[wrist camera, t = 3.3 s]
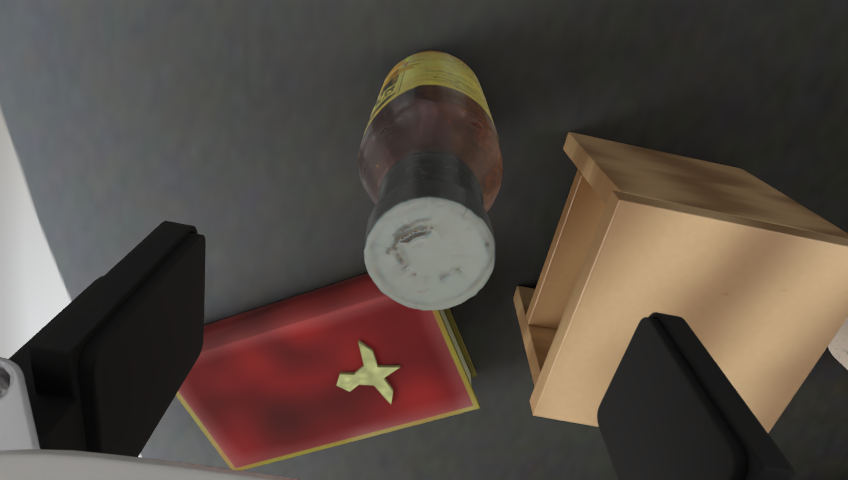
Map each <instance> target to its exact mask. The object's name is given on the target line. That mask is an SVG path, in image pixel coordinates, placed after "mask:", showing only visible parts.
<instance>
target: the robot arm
mask: <svg viewBox="0 0 848 480" xmlns="http://www.w3.org/2000/svg"><path fill="white" fill-rule="evenodd" d="M204 292H205V237H204V235H200V234H197V230H196V228H195V226H190V225H185V224H180V223H174V222H169V221H164V222H162V223H161V224H160V225H159V226H158V227H157V228H156V229H155V230H154V231H152V232H151V233H150V234H149V235H148V236H147V237H146V238H145V239H144V240H143V241H142V242H140V243H139V244H138V245H137V246H136V247H135V248H134V249H133V250H132V251H131V252H130V253H129V254H127V255H126V256H125V257H124V258H123V259H122V260H121V261H120V262H119V263H118V264H117V265H115V266H114V267H113V268H112V269H111V270H110V271H109V272H108V273H107V274H106V275H105V276H101V277H100V278H98V279H97V280H95V281H94V282H93V283H92V284H91V285H90V286H89V287H87V288H86V289H85V290H84V291H83V292H82V293H81V294H80V295H79V296H78V297H76V298H75V299H74V300H73V301H72V302H71V303H70V304H69V305H68V306H67V307H65V308H64V309H63V310H62V311H61V312H60V313H59V314H58V315H57V316H56V317H54V318H53V319H52V320H51V321H50V322H49V323H48V324H47V325H46V326H45V327H43V328H42V329H41V330H40V331H39V332H38V333H37V334H36V335H35V336H34V337H33V338H32V339H30V340H29V341H28V342H27V343H26V344H25V345H24V346H22V347H21V348H20V349H19V350H18V351H17V352H16V353H15V354H14V355H13V356H12V357H10V358H9V359H5V358H1V357H0V480H300V479H293V478H287V477H280V476H273V475H266V474H259V473H252V472H245V471H238V470H231V469H224V468H217V467H210V466H203V465H195V464H188V463H181V462H173V461H166V460H159V459H150V458H141V457H138V456H139V454H140V453H141V451H142V449H143V448H144V446H145V444H146V443H147V441H148V440H149V438H150V436H151V435H152V433H153V431H154V430H155V428H156V426H157V425H158V423H159V422H160V420H161V418H162V417H163V415H164V413H165V412H166V410H167V408H168V407H169V405H170V403H171V402H172V400H173V399H174V397H175V395H176V394H177V392H178V390H179V389H180V387H181V385H182V384H183V382H184V381H185V379H186V377H187V376H188V374H189V372H190V371H191V369H192V367H193V366H194V364H195V362H196V361H197V359H198V357H199V355H200V353H201V350H202V346H203V340H204ZM597 422H598V426H599V428H600V431H601V434H602V437H603V439H604V442H605V445H606V447H607V450H608V453H609V456H610V458H611V461H612V464H613V466H614V469H615V472H616V475H617V477H618V480H791V478H792V477H793V476H794V475H795V473H796V471H795V470H794V468H793V467H792V466H791V464H790V463H789V462H788V460H787V459H786V458H785V456H784V455H783V453H782V452H781V451H780V449H779V448H778V447H777V445H776V444H775V442H774V441H773V440H772V438H771V437H770V436H769V434H768V433H767V432H766V430H765V429H764V427H763V426H762V425H761V423H760V422H759V421H758V419H757V418H756V416H755V415H754V414H753V412H752V411H751V410H750V408H749V407H748V406H747V404H746V403H745V401H744V400H743V399H742V397H741V396H740V395H739V393H738V392H737V391H736V389H735V388H734V386H733V385H732V384H731V382H730V381H729V380H728V378H727V377H726V375H725V374H724V373H723V371H722V370H721V369H720V367H719V366H718V365H717V363H716V362H715V360H714V359H713V358H712V356H711V355H710V354H709V352H708V351H707V349H706V348H705V347H704V345H703V344H702V343H701V341H700V340H699V339H698V337H697V336H696V334H695V333H694V332H693V330H692V329H691V328H690V326H689V325H688V323H687V322H686V321H685V320H684V319H683V318H682V317H679V316H674V315H668V314H663V313H658V312H654V313H652V314H651V315H649V317H644V318H642V319H641V320H640V322H639V324H638V326H637V328H636V330H635V332H634V334H633V336H632V339H631V341H630V343H629V345H628V347H627V349H626V351H625V353H624V355H623V357H622V359H621V361H620V364H619V366H618V368H617V370H616V372H615V374H614V376H613V378H612V380H611V382H610V384H609V386H608V389H607V391H606V393H605V395H604V397H603V399H602V401H601V403H600V405H599V408H598V412H597Z"/></svg>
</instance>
